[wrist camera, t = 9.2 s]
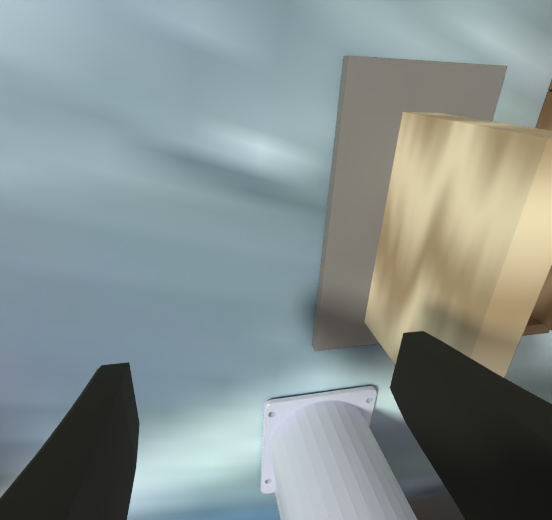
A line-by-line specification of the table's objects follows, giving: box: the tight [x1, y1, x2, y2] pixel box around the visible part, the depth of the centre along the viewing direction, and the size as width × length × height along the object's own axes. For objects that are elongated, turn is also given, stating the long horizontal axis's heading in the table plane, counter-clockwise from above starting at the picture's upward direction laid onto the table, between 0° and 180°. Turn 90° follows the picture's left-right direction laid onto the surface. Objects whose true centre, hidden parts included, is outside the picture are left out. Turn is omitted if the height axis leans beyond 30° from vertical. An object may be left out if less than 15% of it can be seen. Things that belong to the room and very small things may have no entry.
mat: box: [312, 56, 507, 351], centre depth 20 cm, size 16×8×1 cm, turn 177°
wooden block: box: [364, 112, 552, 378], centre depth 17 cm, size 12×2×8 cm, turn 177°
